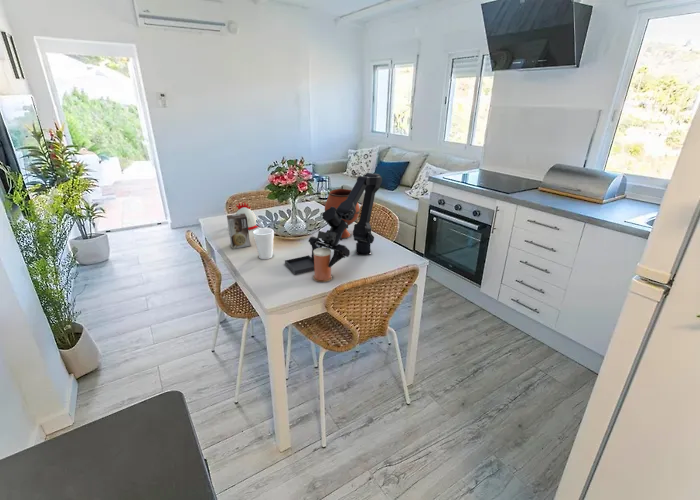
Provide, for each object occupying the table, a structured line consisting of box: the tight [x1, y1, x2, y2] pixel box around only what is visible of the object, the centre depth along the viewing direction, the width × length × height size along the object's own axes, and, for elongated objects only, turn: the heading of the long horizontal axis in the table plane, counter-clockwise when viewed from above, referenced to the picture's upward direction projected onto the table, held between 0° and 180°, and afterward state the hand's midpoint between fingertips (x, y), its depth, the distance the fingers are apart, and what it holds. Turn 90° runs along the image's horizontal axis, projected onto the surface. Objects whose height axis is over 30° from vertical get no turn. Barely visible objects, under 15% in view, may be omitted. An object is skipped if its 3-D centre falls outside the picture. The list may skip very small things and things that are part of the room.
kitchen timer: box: [235, 202, 259, 231], centre depth 204 cm, size 14×14×15 cm
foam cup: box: [252, 227, 275, 260], centre depth 166 cm, size 10×9×13 cm
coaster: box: [312, 274, 333, 283], centre depth 149 cm, size 8×8×1 cm
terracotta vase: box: [324, 188, 361, 239], centre depth 191 cm, size 19×19×25 cm
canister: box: [313, 247, 332, 280], centre depth 147 cm, size 7×7×12 cm
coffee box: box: [226, 213, 251, 250], centre depth 177 cm, size 9×6×16 cm
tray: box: [284, 254, 314, 276], centre depth 159 cm, size 12×12×2 cm
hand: (320, 264), depth 146 cm, fingers open, 9 cm apart
